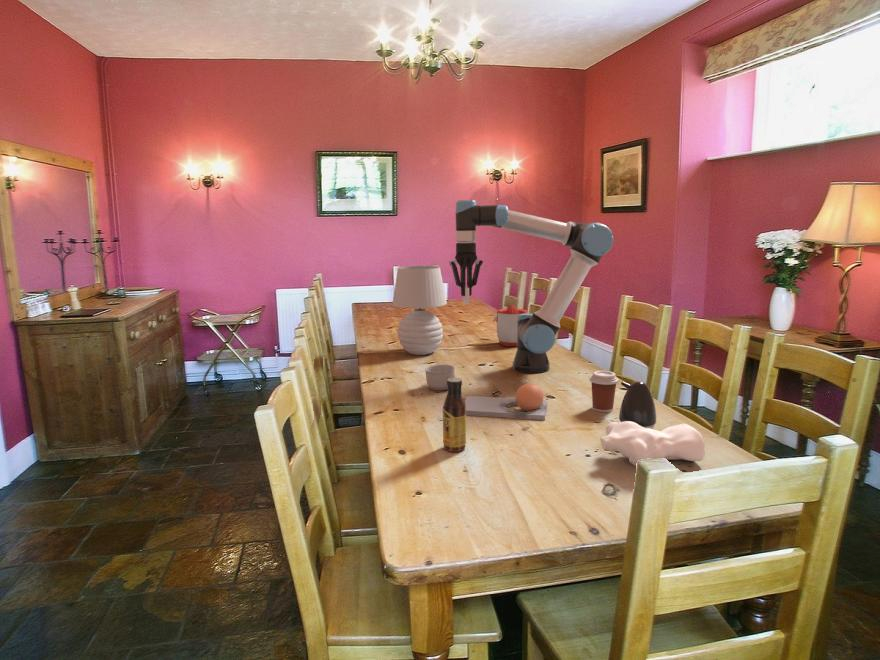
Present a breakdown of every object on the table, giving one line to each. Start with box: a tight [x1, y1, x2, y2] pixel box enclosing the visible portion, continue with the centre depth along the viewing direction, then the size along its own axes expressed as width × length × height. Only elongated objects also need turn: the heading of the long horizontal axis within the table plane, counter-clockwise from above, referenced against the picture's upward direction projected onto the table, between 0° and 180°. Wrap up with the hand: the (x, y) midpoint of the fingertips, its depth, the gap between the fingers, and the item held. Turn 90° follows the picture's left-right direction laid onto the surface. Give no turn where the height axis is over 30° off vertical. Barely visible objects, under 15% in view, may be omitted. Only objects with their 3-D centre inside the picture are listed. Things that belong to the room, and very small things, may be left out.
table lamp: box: [392, 265, 448, 356], centre depth 265 cm, size 25×25×40 cm
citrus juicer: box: [492, 304, 529, 347], centre depth 280 cm, size 16×17×20 cm
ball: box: [514, 383, 544, 412], centre depth 184 cm, size 9×9×9 cm
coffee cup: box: [588, 370, 620, 413], centre depth 185 cm, size 9×9×12 cm
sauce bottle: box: [442, 377, 467, 453], centre depth 154 cm, size 6×6×20 cm
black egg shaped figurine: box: [618, 381, 657, 429], centre depth 164 cm, size 10×10×15 cm
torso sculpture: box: [599, 421, 706, 467], centre depth 145 cm, size 18×10×25 cm
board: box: [464, 395, 548, 421], centre depth 187 cm, size 27×15×2 cm, turn 76°
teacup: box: [424, 363, 456, 392], centre depth 212 cm, size 14×11×8 cm
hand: (466, 304), depth 218 cm, fingers closed
